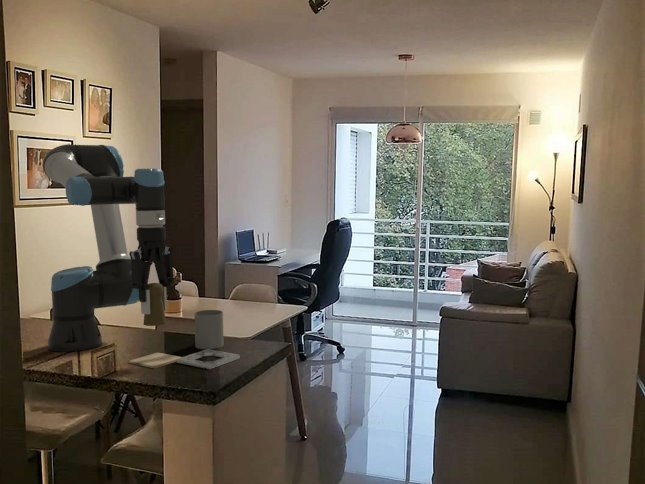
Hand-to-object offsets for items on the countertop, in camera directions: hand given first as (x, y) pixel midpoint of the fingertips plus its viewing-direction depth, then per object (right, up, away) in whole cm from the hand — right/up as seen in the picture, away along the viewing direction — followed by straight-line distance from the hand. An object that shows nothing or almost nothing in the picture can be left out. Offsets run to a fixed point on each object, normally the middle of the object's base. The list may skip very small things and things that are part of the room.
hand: (154, 311), depth 170 cm
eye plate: (+15, -14, +2) cm, 20 cm away
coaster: (0, -14, +1) cm, 14 cm away
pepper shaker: (0, -3, 0) cm, 3 cm away
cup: (+12, -12, +18) cm, 25 cm away
